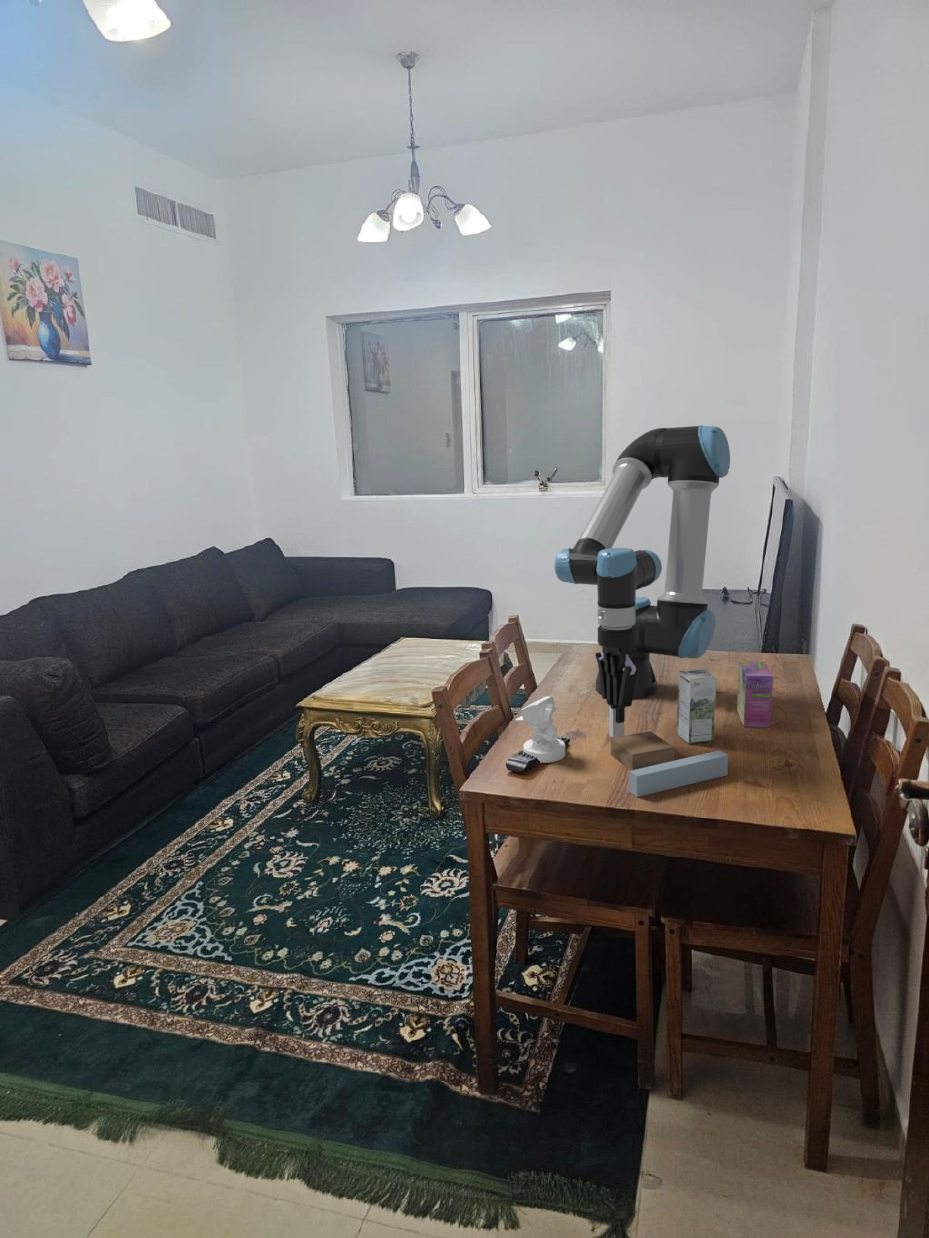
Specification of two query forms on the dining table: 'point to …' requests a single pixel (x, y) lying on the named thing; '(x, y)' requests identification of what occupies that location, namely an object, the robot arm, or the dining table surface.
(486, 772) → the dining table surface
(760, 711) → the box
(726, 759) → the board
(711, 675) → the syrup box
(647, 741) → the block
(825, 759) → the dining table surface
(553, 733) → the character figurine
